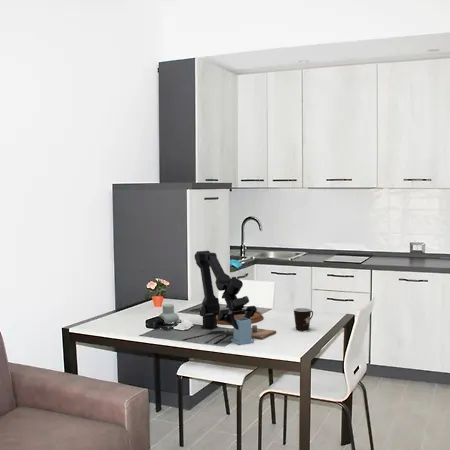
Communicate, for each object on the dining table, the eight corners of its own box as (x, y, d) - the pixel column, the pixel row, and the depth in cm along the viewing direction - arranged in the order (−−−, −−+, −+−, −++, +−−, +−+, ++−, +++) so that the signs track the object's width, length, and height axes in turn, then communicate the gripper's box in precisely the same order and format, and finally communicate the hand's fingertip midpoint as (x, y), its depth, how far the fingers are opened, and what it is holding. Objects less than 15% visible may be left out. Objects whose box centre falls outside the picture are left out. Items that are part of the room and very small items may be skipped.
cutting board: (243, 328, 310) (243, 323, 310) (192, 321, 328) (192, 316, 328) (274, 316, 337) (274, 312, 336) (225, 310, 354) (225, 306, 354)
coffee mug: (297, 332, 300) (297, 312, 299) (291, 328, 308) (290, 308, 307) (319, 330, 303) (319, 310, 302) (312, 326, 311) (312, 307, 311)
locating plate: (233, 335, 295) (233, 326, 295) (247, 329, 307) (247, 321, 307) (262, 339, 287) (262, 330, 286) (276, 333, 298) (276, 324, 298)
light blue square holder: (231, 341, 285) (231, 318, 284) (245, 338, 288) (245, 316, 288) (239, 344, 278) (239, 322, 277) (253, 342, 282) (253, 320, 281)
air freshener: (156, 323, 323) (156, 304, 322) (169, 320, 328) (169, 302, 327) (167, 327, 314) (167, 307, 314) (180, 324, 319) (180, 305, 319)
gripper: (220, 292, 280) (232, 321, 272) (254, 288, 289) (267, 316, 280) (212, 306, 288) (223, 334, 279) (246, 302, 297) (258, 329, 288)
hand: (243, 328), depth 281 cm, fingers closed on light blue square holder, 6 cm apart
